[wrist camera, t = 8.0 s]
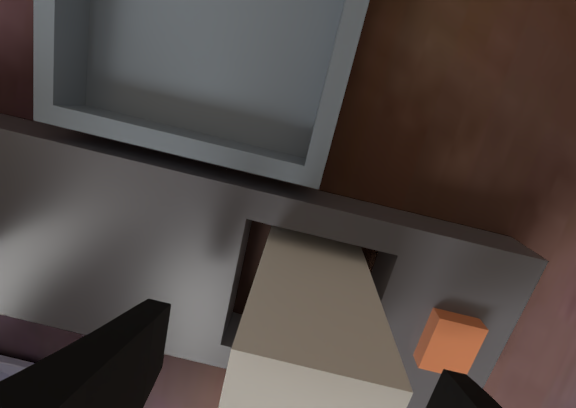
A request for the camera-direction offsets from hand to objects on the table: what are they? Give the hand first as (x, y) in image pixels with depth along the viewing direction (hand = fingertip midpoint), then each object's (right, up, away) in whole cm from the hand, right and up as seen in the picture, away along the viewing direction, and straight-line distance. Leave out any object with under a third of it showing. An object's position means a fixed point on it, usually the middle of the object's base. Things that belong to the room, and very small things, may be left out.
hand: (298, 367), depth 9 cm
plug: (0, +2, +5) cm, 5 cm away
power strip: (-4, +3, +5) cm, 7 cm away
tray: (-2, +10, +2) cm, 11 cm away
